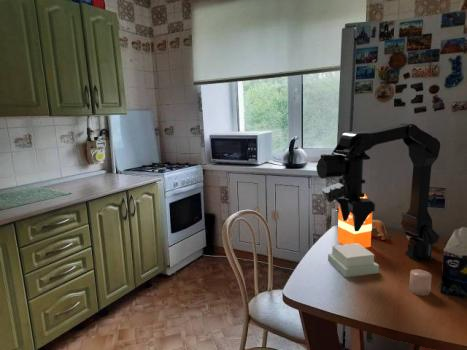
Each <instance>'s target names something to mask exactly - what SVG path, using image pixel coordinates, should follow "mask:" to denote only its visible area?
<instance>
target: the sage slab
mask: <svg viewBox="0 0 467 350" xmlns="http://www.w3.org/2000/svg"><path fill="white" fill-rule="evenodd" d="M328 261H329V262H330V263H331V266H333V268H334V269H336V270H337V272H339V271H340V272H339V273H340V274H341V275H343V277H344V276H345V277H344V278H350V277H351V276H352V277H359V276H366V275H367V276H368V275H374V274H379V271H380V265H379V264H378V263H377V262H375V261H374V264H369V265H361V266H352V267H346V266H345V265H343V264H342V263H341V262H340V261H339V260H338V259H337V258H336V257H334V256H333V255H332V253H327V262H328ZM329 262H328V263H329ZM330 263H329V264H330ZM358 275H359V276H358Z"/></svg>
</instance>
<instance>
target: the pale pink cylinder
mask: <svg viewBox="0 0 467 350" xmlns="http://www.w3.org/2000/svg"><path fill="white" fill-rule="evenodd" d="M409 274H410V275H409V283H408V285H409V286H408V287H409V288H408V289H409V291H410V293H412V294H414V295H417V296H425V295H426V296H429V295H430V293H431V287H432V277H433V276H432V274H431V272H428V271H426V270H423V269H411V270H410V273H409ZM426 296H425V297H426Z"/></svg>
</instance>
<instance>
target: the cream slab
mask: <svg viewBox="0 0 467 350" xmlns="http://www.w3.org/2000/svg"><path fill="white" fill-rule="evenodd" d="M331 248H332V249H331V250H332V253H331V254H332V255H333V256H334V257H336V258H337V259H338V260H339V261H340V262H341V263H342V264H343V265H345V266H346V267H352V266H361V265H369V264H374V262H375V254H374V253H373V252H371V251H370V250H369V249H368V248H367V247H366V248H364V247H363V246H361V245H360V244H358V243H355V244H346V245H343V244H340V245H339V244H338V245H332V247H331Z"/></svg>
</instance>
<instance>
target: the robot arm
mask: <svg viewBox="0 0 467 350" xmlns="http://www.w3.org/2000/svg"><path fill="white" fill-rule="evenodd" d="M341 134H342V135H341V137H340V138H339V142H338V143H337V145H336V146H335V148H334V149H333V151H332V152H331V154H326V153H325V154H320V159H318V161H317V164H316V166H315V167H316V173H317V176H318V177H319V178H320V179H330V178H338V182H337V183H334V184H331V185H328V186H326V187H323V188H322V189H321V192H322V194H323V195H322V196H323V198H324V200H326V202H328V203H332V202H334V201H336V202H337V203H338V207H339V206H340V209H341V213H342V217H343V220H344V221H347V219H348V217H349V214H350V212H351V213H352V214H353V222H354V230H355V231H359V230H360V228H361V226H362V225H363V223H364V221H365V220H366V218H367V217H368V216H369V214H370V213H372V214H373V212H375V211H376V203H374V202H373V201H372V200H371V199H369V198H368V197H367V198H368V199H367V198H360V197H364V196H365V195H366V193H364V192H363V184H366V179H365V178H363V175H364V173H363V172H364V161H366V160H367V161H368V160H371V156H369V154H367V153H366V152H367V151H369V150H371V149H372V148H373V147H374V146H377V145H380V144H385V143H390V142H395V141H399V140H401V141H402V143H403V144H405V146H406V147H407V149H408V157H409V158H410V161H411V163H412V167H413V168H412V178H411V191H410V201H409V203H410V204H409V208H408V210H407V211H406V212H402V214H401V222H400V225H401V226H402V229H403V230H404V233H405V235H406V236H410V237H411V238H409V239H408V240H409V241H408V243H407V251H404V254H405V255H407V256H408V257H411V258H412V259H414V260H415V261H418V262H424V261H431V260H435V259H436V257H435V256H433V255H432V254H433V253H432V251H433V245H435V244H436V243H438V242H439V239H440V236H439V234H438V233H437V232H436V231H435V229H434V228H433V219H432V216H431V215H430V213H429V209H428V208H429V198H430V186H431V175H432V174H431V173H432V166H433V164H434V163H435V162H436V160H437V159H438V158H439V154H440V150H441V141H439V139H438V138H437V137H434V136H432V135H431V134H430V133H428V132H426V131H424V130H422V129H421V128H419V127H418V126H417V125H416V124H413V123H403V122H402V123H400V124H397V125H393V126H388V127H384V128H380V129H374V130H371V131H347V132H344V133H341Z"/></svg>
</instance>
